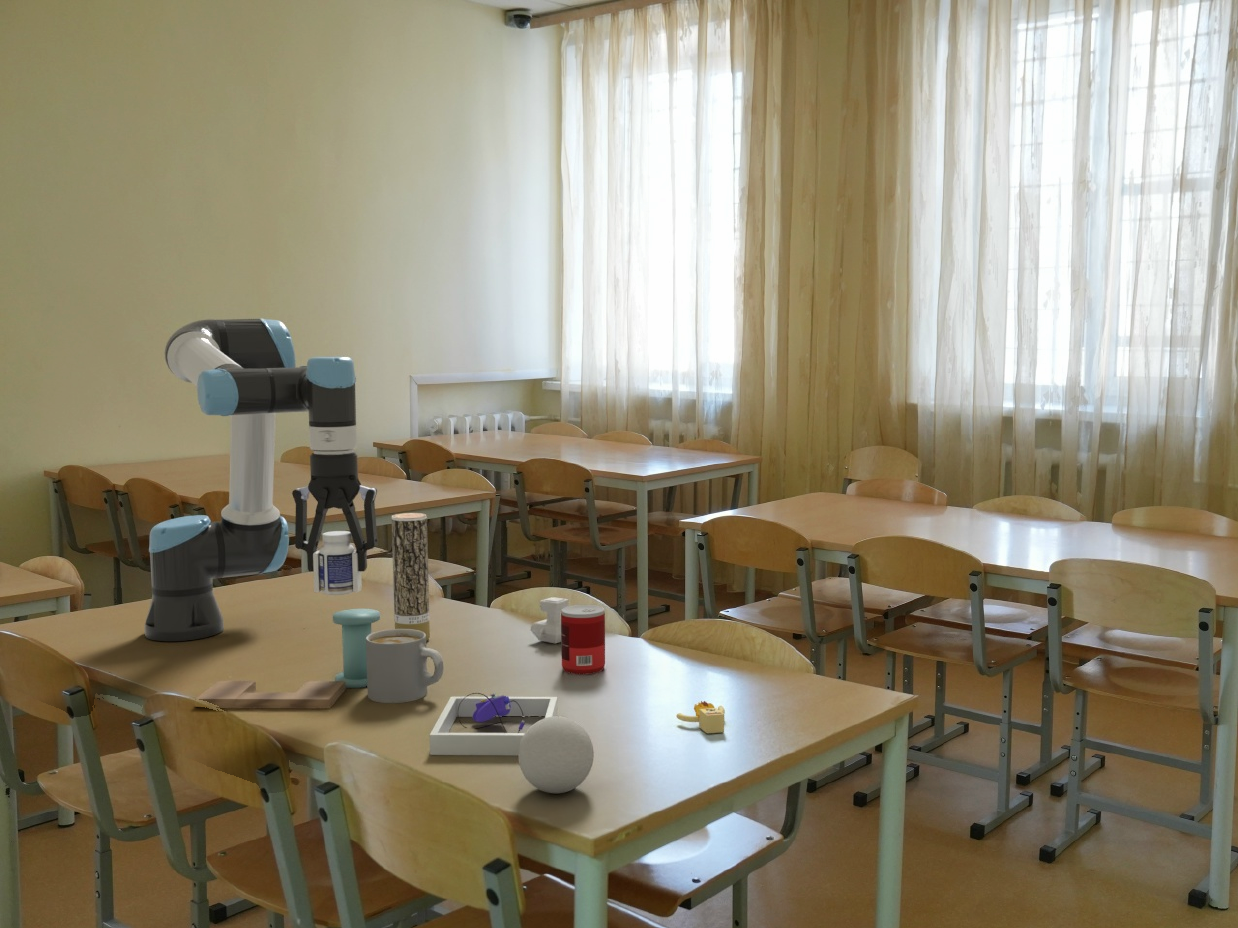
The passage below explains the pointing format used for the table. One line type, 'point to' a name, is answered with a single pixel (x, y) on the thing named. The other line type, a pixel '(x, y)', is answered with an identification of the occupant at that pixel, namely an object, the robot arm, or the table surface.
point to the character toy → (706, 717)
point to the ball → (556, 754)
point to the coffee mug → (399, 665)
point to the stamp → (550, 620)
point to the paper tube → (410, 572)
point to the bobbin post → (355, 644)
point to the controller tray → (484, 742)
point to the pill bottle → (336, 563)
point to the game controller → (493, 709)
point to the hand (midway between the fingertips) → (338, 590)
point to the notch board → (273, 695)
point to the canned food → (583, 639)
